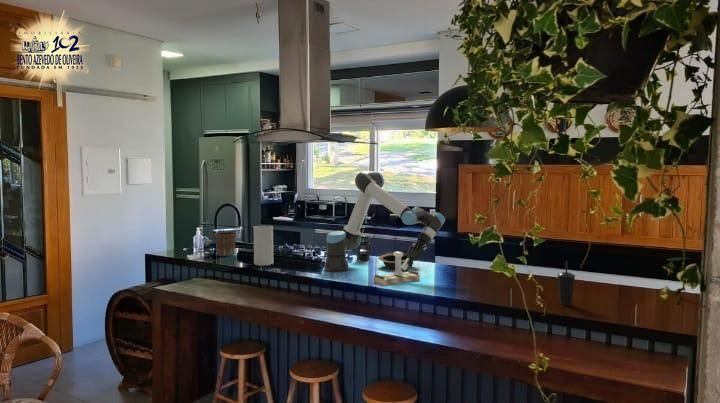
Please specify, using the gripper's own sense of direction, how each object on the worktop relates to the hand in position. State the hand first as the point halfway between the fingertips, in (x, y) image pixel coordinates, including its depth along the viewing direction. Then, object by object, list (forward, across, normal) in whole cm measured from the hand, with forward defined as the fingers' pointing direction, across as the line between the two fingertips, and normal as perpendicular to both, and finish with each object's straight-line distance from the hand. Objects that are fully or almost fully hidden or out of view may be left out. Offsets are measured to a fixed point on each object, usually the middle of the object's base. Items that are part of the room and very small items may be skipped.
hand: (403, 268), depth 282 cm
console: (+7, +1, -2) cm, 8 cm away
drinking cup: (-17, -81, -27) cm, 87 cm away
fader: (+4, +1, -1) cm, 4 cm away
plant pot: (+44, +141, +35) cm, 152 cm away
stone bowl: (-9, +33, -20) cm, 40 cm away
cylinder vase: (+37, +91, +28) cm, 102 cm away
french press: (-7, +68, -17) cm, 70 cm away
